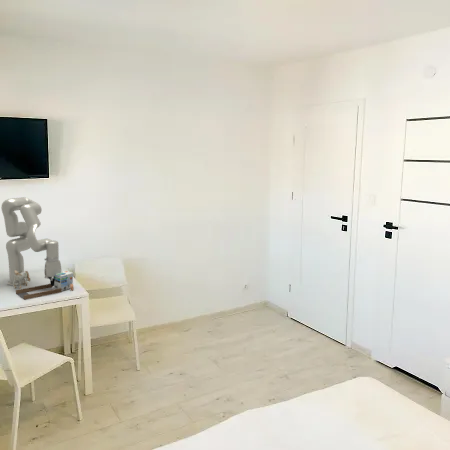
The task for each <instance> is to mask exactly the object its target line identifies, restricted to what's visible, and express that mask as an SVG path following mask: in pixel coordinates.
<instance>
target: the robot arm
mask: <svg viewBox="0 0 450 450" xmlns="http://www.w3.org/2000/svg"><path fill="white" fill-rule="evenodd" d="M15 211H20V214H21V216H22V219H23V221H19V217H18V215H17V214H16V213H17V212H15ZM1 212H2V215H3V218H4V224H5V225H4V226H5V232H6V236H7V237H9V238H11V239H10V240H8V241H7V242H6V244H5V249H6V253H7V260H8V270H9V271H8V272H9V275H8V276H9V281H7V285H8V286H13V287H14V285H13V282H14V276H15V275H14V271H15V270H16V271H18V272H20V273H21V272H25V265H24V264H25V262H24V256H23V254H22V253H21V252H24V251H28V250H29V249H31V250H32V251H33V252H35V253H39V252H43V251H46V257H45V258H44V261H45V263H44V279H49V281H50V283H49V284H51V286H53V287H54V276H55V274H59V273H62V272H63V271H62V264H61V260H59V259H60V256H59V253H60V252H59V242H58V240H52V239H50V238H42V239H37V237H36V230H37V229H38V228H39V227H40V226H41V221H40V218H39V217H38V215H40V214H41V213H42V206H41V205H40V204H39V203H38V202H36V201H34V200H32V199H30V198H28V197H25V196H24V197H12V198H8V199H5V200H4V201H3V202H2V203H1ZM16 237H17V238H16ZM20 282H21V285H22V286H24V285H23V283H24V280H23V279H22V280H20ZM15 285H16V287H17V286H20V284H19V281H16V282H15ZM25 285H26V279H25Z"/></svg>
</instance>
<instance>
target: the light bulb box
mask: <svg viewBox="0 0 450 450" xmlns="http://www.w3.org/2000/svg"><path fill="white" fill-rule="evenodd" d="M70 284H73V285H74V272H72V271H68V270H63V271H62V273H59V274H55V276H54V286H53V290H54V289H59V288H61V289H62V292H63V291H66V290H69V289H70Z"/></svg>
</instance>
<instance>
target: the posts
mask: <svg viewBox="0 0 450 450" xmlns="http://www.w3.org/2000/svg"><path fill="white" fill-rule="evenodd" d="M69 291H70V292H71V291H74V283H73V284H70V290H69Z"/></svg>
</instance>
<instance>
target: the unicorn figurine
mask: <svg viewBox="0 0 450 450" xmlns="http://www.w3.org/2000/svg"><path fill="white" fill-rule="evenodd" d="M14 275H15V276H14V282H13V285H14V286H13V288H14V289H17V288H18V287H17V286H16V285H15V282H16V281H19V284H20V285H19V288H18V290H19V289H23V288H22V286H26V287H28V283H29V282H31V277H30V274H29V271H28V270H24V272H21V273H20V272H18V271H16V270H15V271H14ZM22 279H23V280H24V283H23V285H21V282H20V280H22ZM25 280H26V284H25Z"/></svg>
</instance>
